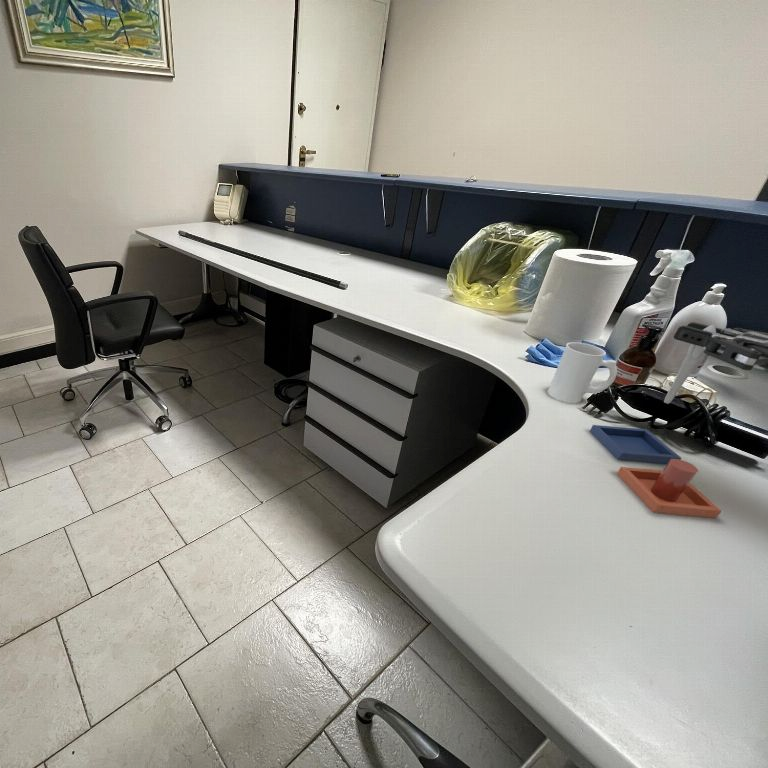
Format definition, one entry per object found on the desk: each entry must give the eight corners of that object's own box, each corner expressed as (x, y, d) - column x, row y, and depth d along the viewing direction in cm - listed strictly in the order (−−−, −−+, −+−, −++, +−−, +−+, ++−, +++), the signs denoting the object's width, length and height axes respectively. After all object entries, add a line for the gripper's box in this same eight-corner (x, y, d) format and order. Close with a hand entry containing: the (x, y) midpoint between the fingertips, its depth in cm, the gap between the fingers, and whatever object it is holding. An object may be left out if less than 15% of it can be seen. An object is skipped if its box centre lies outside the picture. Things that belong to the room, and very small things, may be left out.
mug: (543, 397, 91) (564, 348, 85) (548, 386, 96) (568, 339, 90) (598, 414, 85) (625, 363, 79) (601, 401, 90) (626, 352, 84)
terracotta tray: (670, 481, 68) (677, 471, 67) (714, 521, 61) (722, 511, 60) (615, 476, 69) (621, 466, 68) (651, 514, 62) (658, 505, 61)
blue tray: (641, 437, 79) (646, 429, 78) (675, 467, 71) (681, 458, 70) (588, 433, 80) (592, 424, 78) (616, 462, 72) (621, 453, 71)
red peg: (666, 488, 66) (687, 459, 63) (682, 502, 63) (704, 473, 60) (645, 486, 66) (664, 457, 63) (659, 500, 63) (680, 471, 60)
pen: (677, 402, 68) (725, 324, 61) (676, 408, 67) (725, 328, 60) (657, 397, 70) (702, 319, 63) (655, 402, 68) (701, 324, 61)
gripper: (891, 338, 52) (713, 301, 66) (863, 360, 47) (673, 314, 60) (849, 388, 56) (688, 343, 69) (818, 414, 50) (649, 359, 63)
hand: (682, 330), depth 64 cm, fingers closed on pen, 2 cm apart
